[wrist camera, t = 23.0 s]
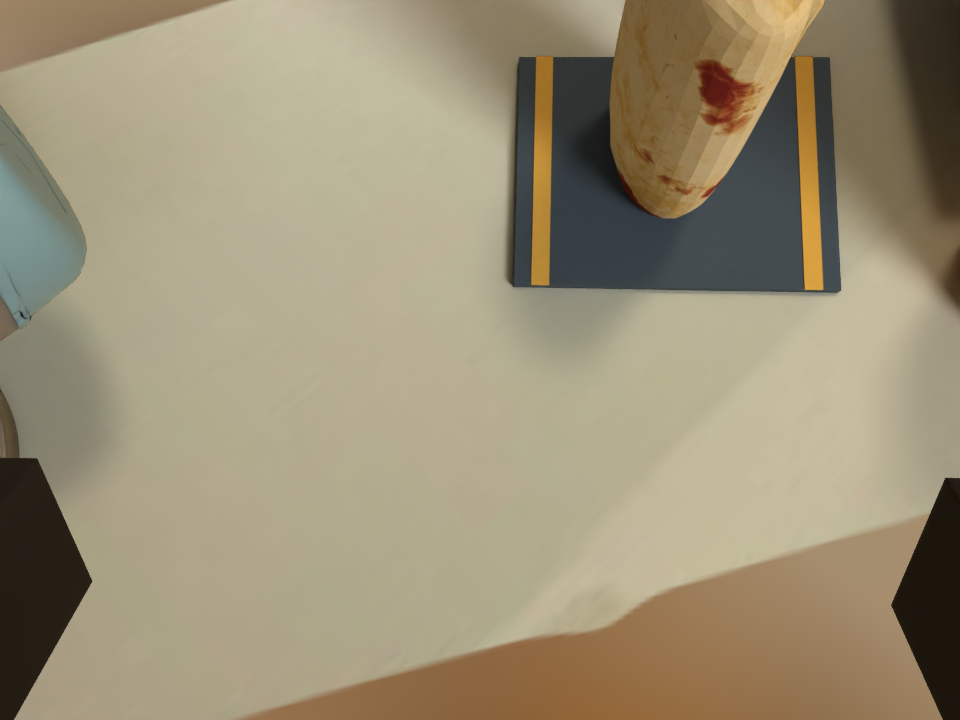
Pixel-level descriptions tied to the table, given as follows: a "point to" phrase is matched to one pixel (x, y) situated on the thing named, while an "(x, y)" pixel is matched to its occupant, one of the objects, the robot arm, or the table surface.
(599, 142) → the towel
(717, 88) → the food model
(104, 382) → the table surface
